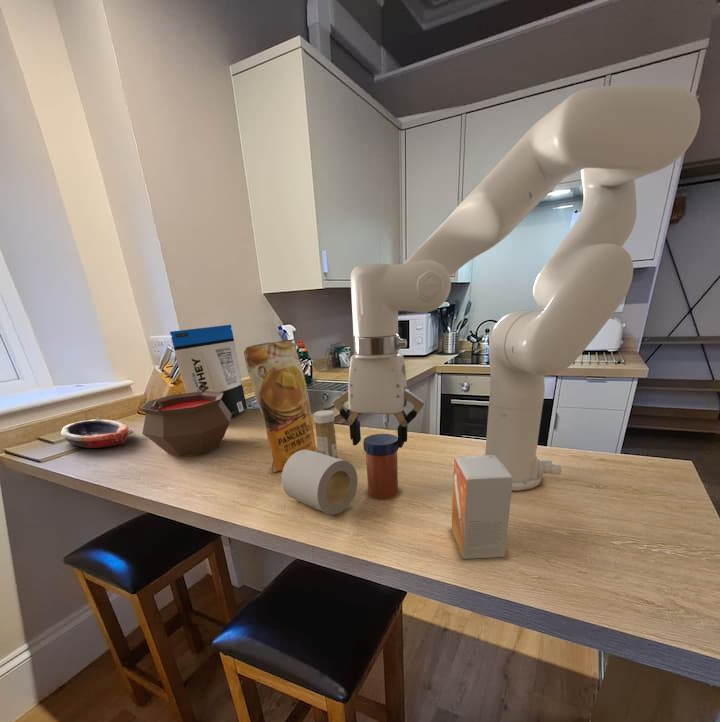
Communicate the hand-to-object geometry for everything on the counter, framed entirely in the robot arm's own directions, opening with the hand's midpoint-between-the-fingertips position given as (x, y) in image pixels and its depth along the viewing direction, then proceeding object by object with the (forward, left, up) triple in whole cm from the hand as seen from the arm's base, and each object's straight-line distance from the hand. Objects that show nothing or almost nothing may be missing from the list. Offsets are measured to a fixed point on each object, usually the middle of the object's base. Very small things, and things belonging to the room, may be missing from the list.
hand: (378, 443), depth 74 cm
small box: (-18, +15, -10) cm, 26 cm away
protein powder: (+70, -50, -10) cm, 87 cm away
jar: (0, 0, -10) cm, 10 cm away
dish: (+96, -22, -10) cm, 99 cm away
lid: (0, 0, +1) cm, 1 cm away
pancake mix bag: (+26, -14, -10) cm, 31 cm away
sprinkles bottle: (+15, -10, -10) cm, 21 cm away
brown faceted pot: (+59, -20, -10) cm, 63 cm away
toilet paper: (+10, +7, -10) cm, 16 cm away
